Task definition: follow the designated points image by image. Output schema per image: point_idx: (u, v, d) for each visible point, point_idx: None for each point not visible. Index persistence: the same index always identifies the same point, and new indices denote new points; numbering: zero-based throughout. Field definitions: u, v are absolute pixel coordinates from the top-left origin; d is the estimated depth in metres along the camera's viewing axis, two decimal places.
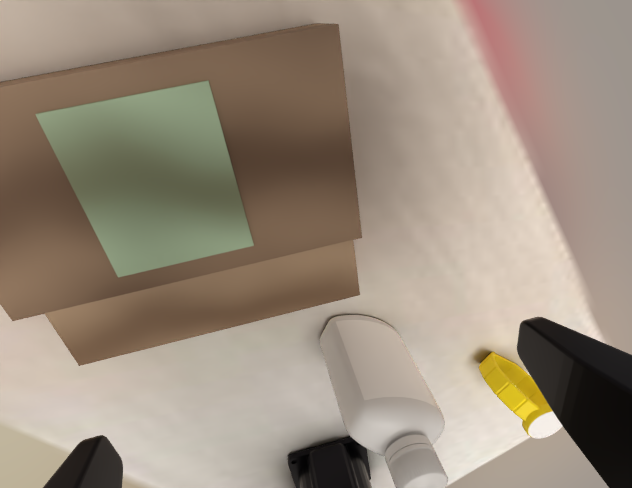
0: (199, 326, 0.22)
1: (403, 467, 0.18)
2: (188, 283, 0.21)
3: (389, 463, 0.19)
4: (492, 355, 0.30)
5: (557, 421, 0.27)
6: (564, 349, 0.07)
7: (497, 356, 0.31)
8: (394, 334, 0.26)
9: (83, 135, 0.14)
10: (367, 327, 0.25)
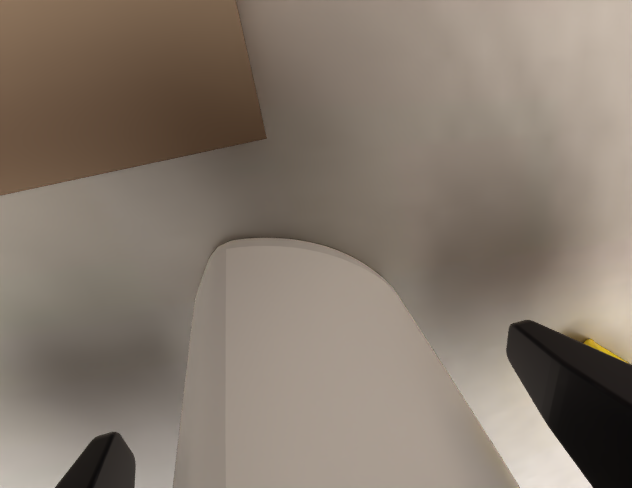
0: None
1: None
2: None
3: None
4: (594, 345, 0.14)
5: None
6: (551, 353, 0.07)
7: (599, 348, 0.15)
8: (383, 287, 0.10)
9: None
10: (309, 263, 0.09)
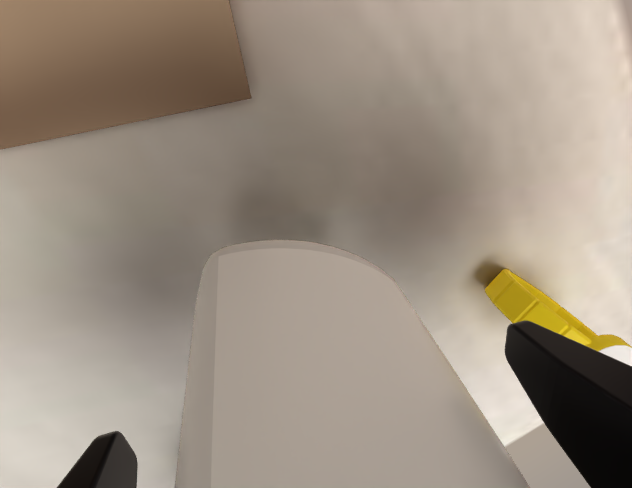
0: None
1: None
2: None
3: None
4: (506, 270, 0.19)
5: None
6: (550, 353, 0.07)
7: (513, 275, 0.20)
8: (381, 280, 0.10)
9: None
10: (301, 262, 0.09)
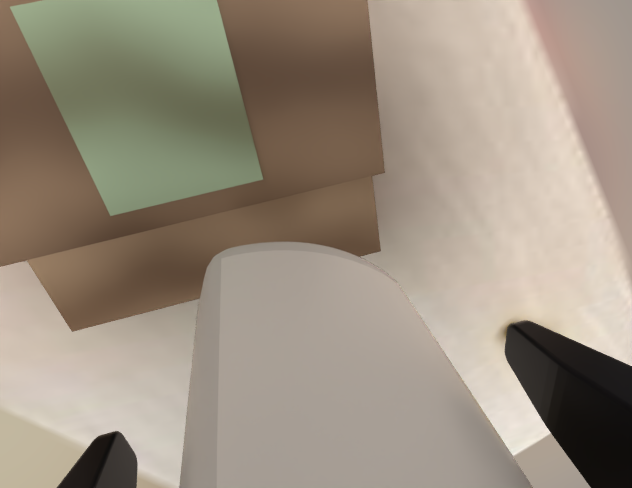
0: None
1: None
2: (190, 234, 0.18)
3: None
4: None
5: None
6: (549, 353, 0.07)
7: None
8: (383, 281, 0.10)
9: (66, 35, 0.12)
10: (305, 265, 0.09)
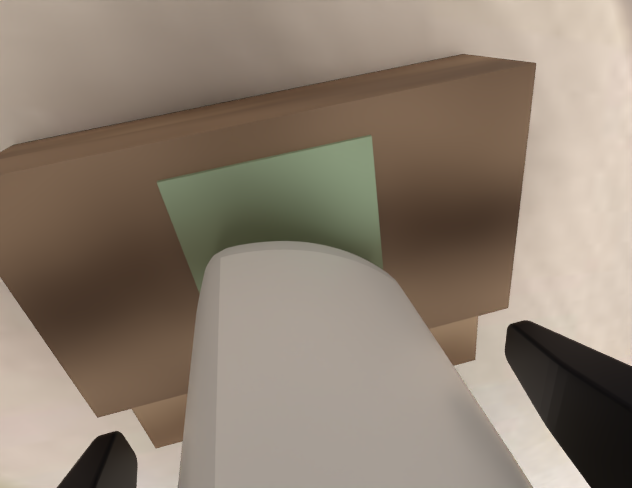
0: None
1: None
2: None
3: None
4: None
5: None
6: (550, 353, 0.07)
7: None
8: (383, 281, 0.10)
9: (211, 206, 0.11)
10: (304, 263, 0.09)
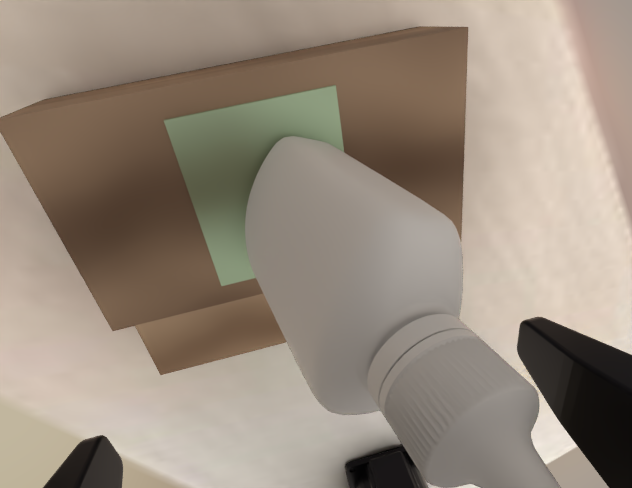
0: (281, 335, 0.22)
1: (501, 358, 0.07)
2: None
3: (437, 334, 0.07)
4: None
5: None
6: (564, 349, 0.07)
7: None
8: None
9: (207, 142, 0.14)
10: None
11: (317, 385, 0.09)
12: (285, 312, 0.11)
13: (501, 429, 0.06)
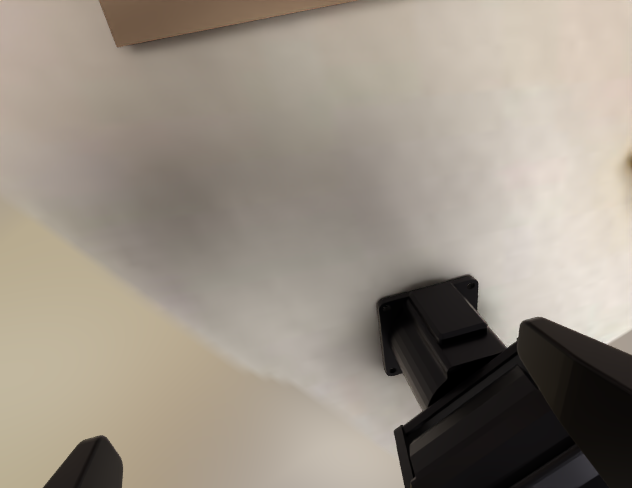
0: None
1: None
2: None
3: None
4: None
5: None
6: (564, 349, 0.07)
7: None
8: None
9: None
10: None
11: None
12: None
13: None
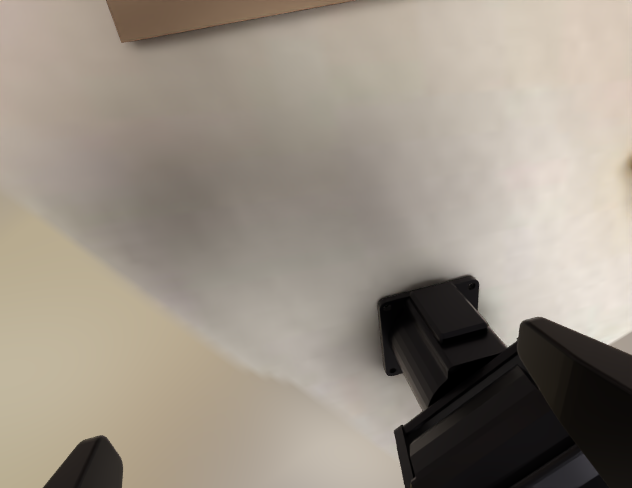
0: None
1: None
2: None
3: None
4: None
5: None
6: (564, 349, 0.07)
7: None
8: None
9: None
10: None
11: None
12: None
13: None
